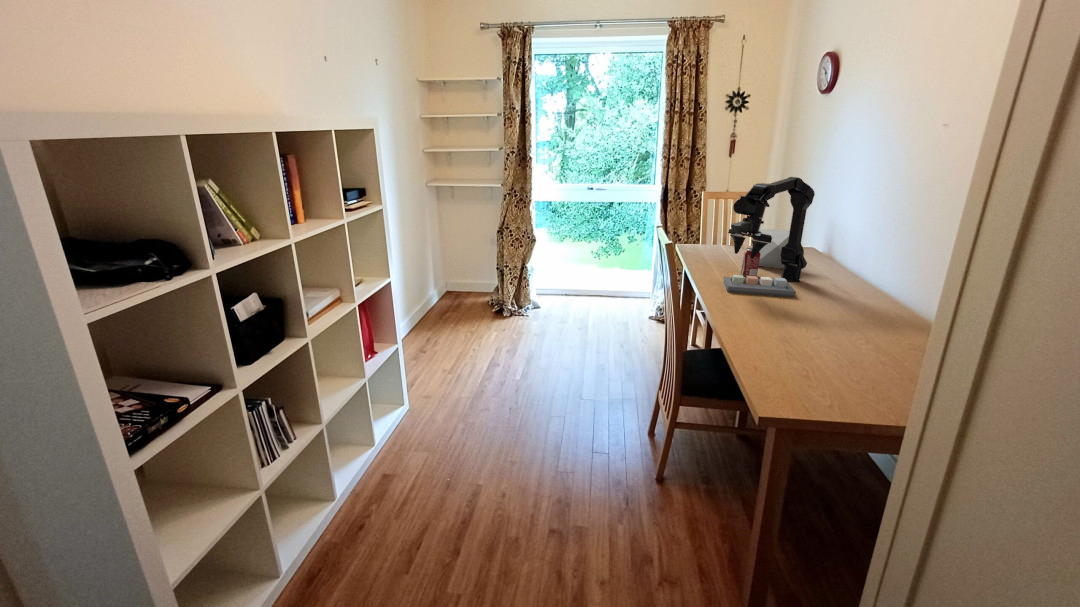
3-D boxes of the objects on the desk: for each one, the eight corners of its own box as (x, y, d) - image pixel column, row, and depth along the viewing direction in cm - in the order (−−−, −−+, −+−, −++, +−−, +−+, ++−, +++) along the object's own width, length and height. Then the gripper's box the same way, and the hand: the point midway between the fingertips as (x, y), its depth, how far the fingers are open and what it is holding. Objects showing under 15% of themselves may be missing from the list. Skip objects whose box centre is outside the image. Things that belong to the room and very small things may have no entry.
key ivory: (769, 283, 207) (770, 277, 207) (771, 286, 204) (772, 280, 203) (759, 282, 208) (760, 276, 207) (761, 285, 205) (762, 279, 204)
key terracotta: (755, 282, 208) (756, 276, 208) (757, 285, 205) (758, 278, 204) (745, 281, 209) (746, 275, 208) (747, 284, 206) (748, 278, 205)
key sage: (741, 281, 209) (742, 275, 209) (743, 284, 206) (744, 277, 205) (731, 280, 210) (732, 274, 209) (733, 283, 207) (734, 277, 206)
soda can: (759, 277, 224) (763, 251, 220) (743, 277, 224) (747, 250, 220) (753, 273, 230) (757, 247, 226) (738, 273, 230) (742, 247, 226)
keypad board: (786, 287, 211) (787, 281, 211) (794, 297, 199) (795, 291, 198) (723, 282, 216) (724, 276, 215) (727, 292, 203) (728, 286, 202)
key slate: (783, 284, 206) (784, 278, 206) (785, 287, 203) (787, 281, 202) (773, 283, 207) (774, 277, 206) (775, 286, 204) (776, 280, 203)
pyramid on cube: (755, 263, 230) (760, 223, 229) (749, 267, 253) (753, 231, 253) (795, 267, 225) (801, 226, 225) (785, 270, 249) (790, 234, 248)
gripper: (722, 210, 204) (712, 248, 207) (754, 217, 187) (743, 258, 191) (744, 214, 207) (734, 252, 211) (778, 221, 191) (766, 262, 194)
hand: (743, 256), depth 202 cm, fingers open, 9 cm apart
